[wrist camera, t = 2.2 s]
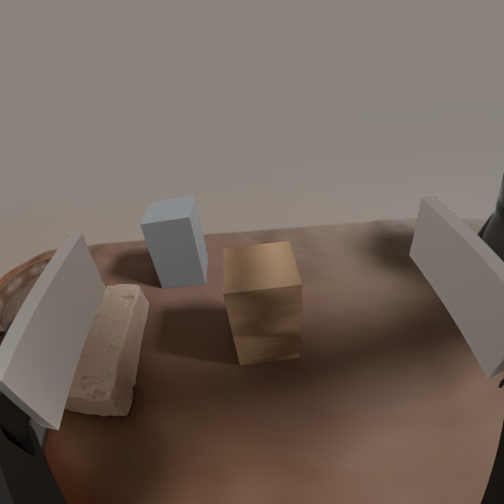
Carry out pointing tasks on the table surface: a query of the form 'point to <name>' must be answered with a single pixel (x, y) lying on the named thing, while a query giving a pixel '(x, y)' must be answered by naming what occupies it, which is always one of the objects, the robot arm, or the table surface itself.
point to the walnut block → (263, 302)
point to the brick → (110, 354)
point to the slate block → (176, 241)
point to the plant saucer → (18, 291)
